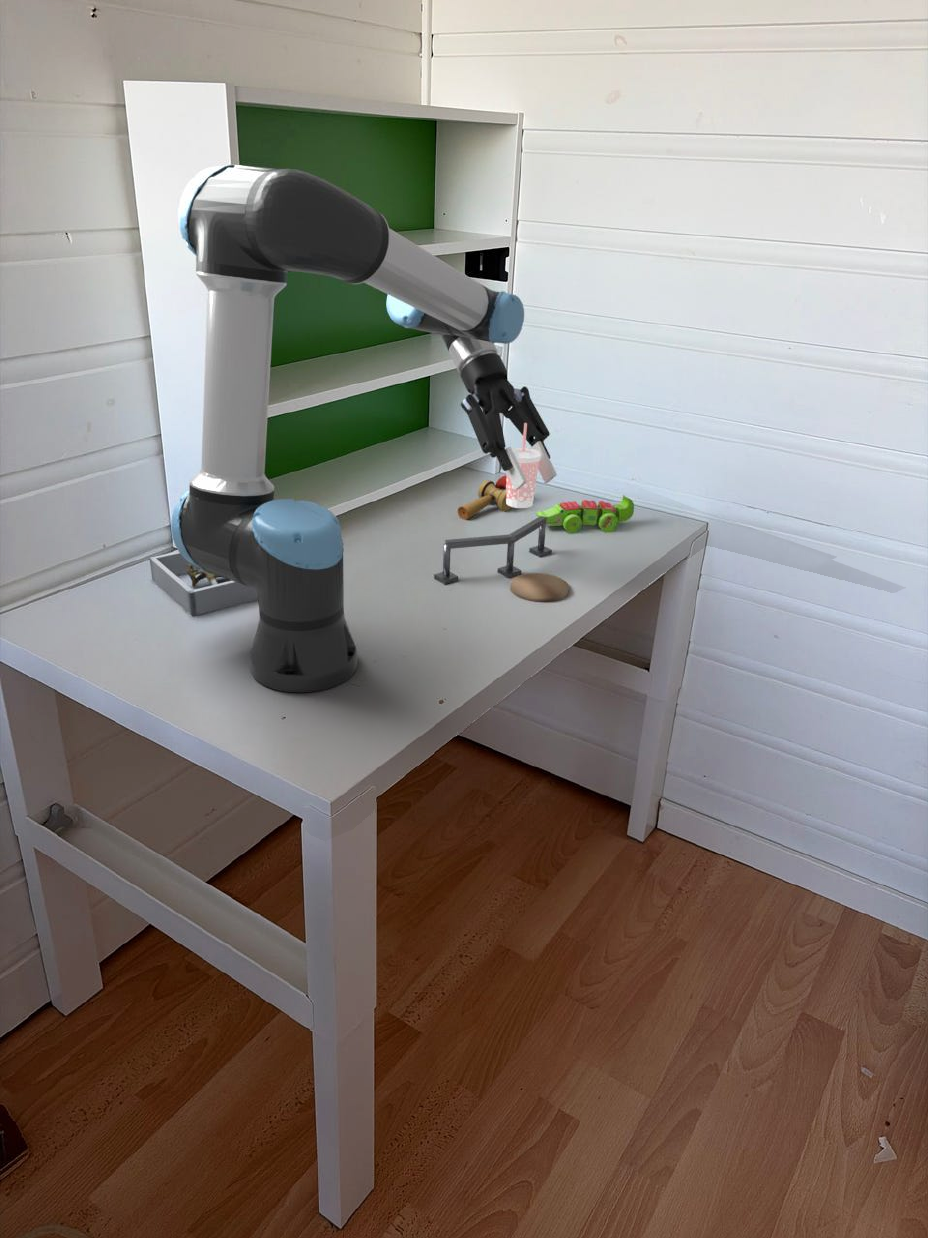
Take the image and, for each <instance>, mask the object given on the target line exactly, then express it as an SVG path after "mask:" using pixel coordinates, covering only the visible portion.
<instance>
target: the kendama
mask: <svg viewBox="0 0 928 1238" xmlns="http://www.w3.org/2000/svg"><path fill="white" fill-rule="evenodd" d="M477 495H478V496H477V497H478V498H477V499H474V500H472V501H470V502H468V503H466V504H463V505H460V506H459V507H458V508H457V514H458V516H459V518H460V519H461V518H462V520H465V521H467V520H469V519H470V518H471V517H473V516H474V515H476V514H477V513H478V512H480V511H481V510H483V509H484V508H486V507H487V506H488V505H490V503H492V502H495V503H496V504H497V508H498V509H499V510H500V511H503V512H507V511H509V510H511V508H512V507H511V506H508V505H507V504H506V474H505V475H503V476H500V478H499V479H497V481H496V482H494V481H493V480H490V479H487V480H484V481H483V482H482V483H481V484H480V486H479V488H478V491H477Z"/></svg>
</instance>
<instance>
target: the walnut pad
mask: <svg viewBox="0 0 928 1238" xmlns="http://www.w3.org/2000/svg"><path fill="white" fill-rule="evenodd" d="M569 586H570V585H569V583H568V582H567V581H566V580H564V579H563V578H562V577H558V576H556V575H553V574H547V573H540V572H539V573H538V572H536V573H535V572H531V573H524V574H521V575H517V576H514V577H512V579H511V581H510V586H509V590H510V591H511V593H512V594H513V595H514V596H516V597H518V598H520V599H522V600H525V601H526V600H527V601H530V602H537V603H550V602H557V601H560V600H562V599H565V597H567V596H568V594H569V590H570V587H569Z"/></svg>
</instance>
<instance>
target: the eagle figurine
mask: <svg viewBox="0 0 928 1238" xmlns="http://www.w3.org/2000/svg"><path fill="white" fill-rule="evenodd" d="M186 565H187V566H188V570H189V571H188V570H187V574H186V575H188V576H189V578H190V580H191V587H196V586H197V584H198V583H199V581H201V580H204V579H207V581H208V582H209V583H210V585H211V586H212V585H216V584H218V581H217V579H218V578H221V579H222V578H223V579H225V580H227V581H232V580H229V579H226V578H224V577H221V576H219V575H215V574H210V573H208V572H205V571H204V570H202V569H200V568H198V569H197V570H194V568H193V565H188V564H186Z"/></svg>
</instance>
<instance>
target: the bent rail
mask: <svg viewBox="0 0 928 1238" xmlns="http://www.w3.org/2000/svg"><path fill="white" fill-rule="evenodd" d="M546 519H547V517H544V516H540V517H538V516H537V518H535V519H533V520H532V521H530V522H528V523H526V524H525V525H522V526H521V527H519V528H518V529H516V530H514V531H513V532H511V533H509V534H500V535H486V536H475V537H465V538H453V539H452V538H451V539H445V542H444V543H443V553H442V554H443V555H442V556H443V559H442V560H443V561H442V572H441V571H440V572H438V573H434V574H433V578H434V580H436V581H437V582H439V583H441V584H443V585H448V584H451V583H454V582H458V581H459V576H458V575H456V574H455V573H454V572H452V571H451V552H452V551H451V549H461V548H462V549H463V548H474V547H475V548H476V547H484V546H485V547H487V546H495V545H496V546H497V545H507V547H506V548H507V550H506V551H507V552H506V565H504V566H501V567H497V573H498V574H500V575H502V576H504V577H505V578H508V579H511V578H515V577H517V576H519V575H522V569H520V568H519V567H516V566H514V562H515V561H514V559H515V543H516V542H518V541H520V540H521V539H523V538H525V537H526V536H527V535H530V534H531V533H533V532H534V531H537V530H538V539H537V540H538V541H537V545H536V546H532V547H530V548H528V549H529V551H528V552H529V553H530V554H533V556H534V555H535V556H536V557H538V558H542V557H546V556H549V555H552V554H553V549H551V548H549V547H547V546H545V540H546V529H547V528H546V527H547V526H546Z"/></svg>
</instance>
